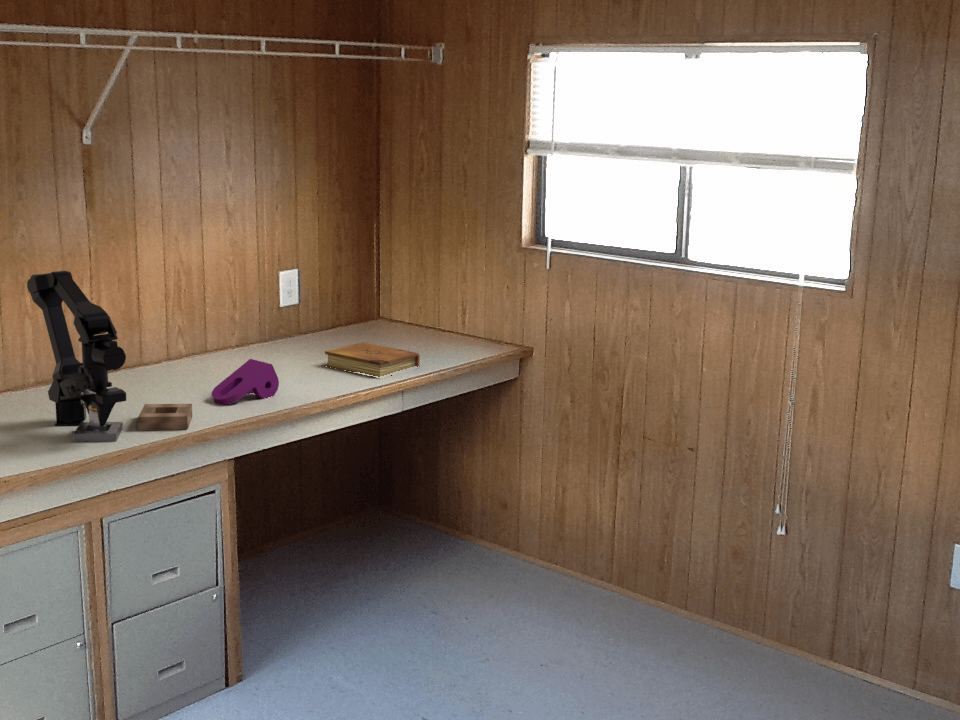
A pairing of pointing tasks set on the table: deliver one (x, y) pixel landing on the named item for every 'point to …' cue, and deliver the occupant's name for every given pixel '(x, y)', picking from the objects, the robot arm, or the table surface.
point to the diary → (371, 359)
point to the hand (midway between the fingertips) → (98, 423)
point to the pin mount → (97, 433)
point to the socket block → (165, 416)
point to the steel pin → (95, 419)
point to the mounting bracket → (247, 383)
